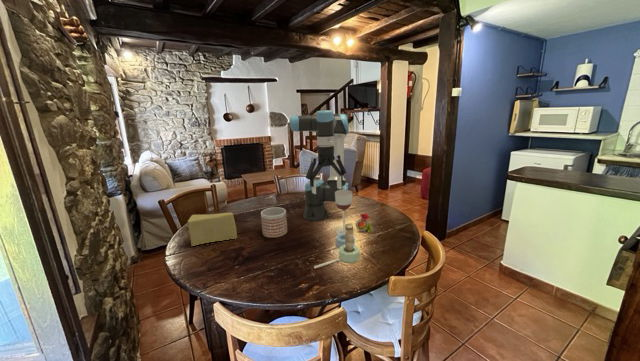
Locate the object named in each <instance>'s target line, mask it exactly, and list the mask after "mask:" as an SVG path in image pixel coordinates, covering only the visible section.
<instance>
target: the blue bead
mask: <svg viewBox="0 0 640 361" xmlns="http://www.w3.org/2000/svg"><path fill="white" fill-rule="evenodd" d="M335 245H336V247H337V248H338V249H339V248H340V247H341V246H343V245H345V233H341V234H336V236H335ZM353 245H355V236H354V235H353ZM355 246H356V245H355Z"/></svg>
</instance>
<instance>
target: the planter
mask: <svg viewBox="0 0 640 361" xmlns="http://www.w3.org/2000/svg"><path fill="white" fill-rule="evenodd" d="M260 217H261V218H260V219H261V220H260V221H261V228H262V229H261V231H262V235H263V236H264V237H266V238H270V239H271V238H273V239H274V238H281V237H283V236H284V235H286V234H287V233H288V220H287V210H286V209H285V208H283V207H279V206H278V207H276V206H275V207H268V208H264V209H262V211H261V212H260Z"/></svg>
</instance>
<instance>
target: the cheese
mask: <svg viewBox="0 0 640 361" xmlns="http://www.w3.org/2000/svg"><path fill="white" fill-rule="evenodd" d="M235 221H236V220H235V217H234V213H233V212H222V213H221V212H220V213H214V214H213V213H211V214H192V215H191V216H190V217H189V219H188V220H187V227H188V232H189V238H190V244H191V247H192V246H195V245H199V244H204V243H209V242H215V241H223V240H229V239H235V240H237V239H238V233H237V232H238V231H237V226H236V225H237V224H236V222H235ZM236 238H237V239H236ZM223 242H224V241H223Z"/></svg>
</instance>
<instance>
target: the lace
mask: <svg viewBox="0 0 640 361" xmlns="http://www.w3.org/2000/svg"><path fill="white" fill-rule="evenodd" d="M339 261H341V260H340V259H339V258H336V259H333V260H329V261H325V262H324V263H320V264H316V265H314V266H313V268H314V269H315V270H316V269H318V268H321V267H325V266H327V265H331V264H333V263H337V262H339Z"/></svg>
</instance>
